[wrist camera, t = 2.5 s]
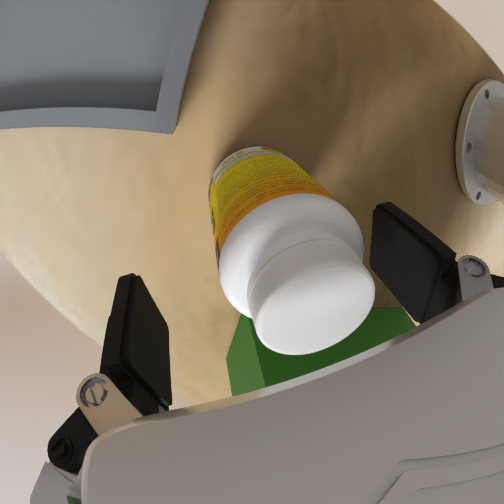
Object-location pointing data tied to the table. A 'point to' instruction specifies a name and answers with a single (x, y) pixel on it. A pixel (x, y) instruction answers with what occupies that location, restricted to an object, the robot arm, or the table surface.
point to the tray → (96, 62)
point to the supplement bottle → (287, 252)
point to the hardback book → (292, 366)
